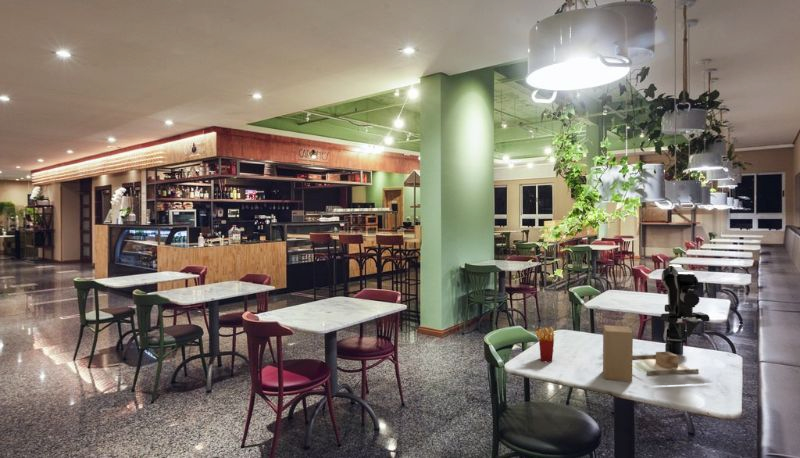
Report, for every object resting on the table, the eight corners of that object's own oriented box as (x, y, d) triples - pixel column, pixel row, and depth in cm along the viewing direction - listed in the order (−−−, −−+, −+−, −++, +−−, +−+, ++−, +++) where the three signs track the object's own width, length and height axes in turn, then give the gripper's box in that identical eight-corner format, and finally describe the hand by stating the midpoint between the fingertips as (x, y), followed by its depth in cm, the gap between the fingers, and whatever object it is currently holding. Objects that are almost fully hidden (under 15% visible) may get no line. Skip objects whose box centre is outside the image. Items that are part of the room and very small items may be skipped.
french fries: (554, 363, 205) (554, 330, 205) (535, 361, 208) (535, 328, 207) (554, 357, 214) (554, 325, 213) (535, 355, 216) (535, 324, 216)
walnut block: (668, 362, 202) (668, 351, 202) (677, 367, 196) (678, 355, 196) (655, 363, 201) (655, 352, 201) (664, 368, 195) (664, 356, 195)
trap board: (666, 358, 209) (666, 354, 209) (698, 374, 189) (698, 369, 189) (620, 360, 208) (620, 355, 207) (647, 377, 188) (647, 371, 188)
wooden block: (628, 373, 192) (629, 326, 191) (632, 382, 182) (632, 332, 181) (602, 371, 195) (603, 324, 194) (605, 379, 186) (605, 330, 185)
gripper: (692, 297, 207) (691, 331, 207) (652, 298, 205) (652, 332, 206) (710, 302, 196) (710, 338, 196) (669, 303, 194) (668, 339, 195)
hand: (684, 336), depth 199 cm, fingers open, 3 cm apart
